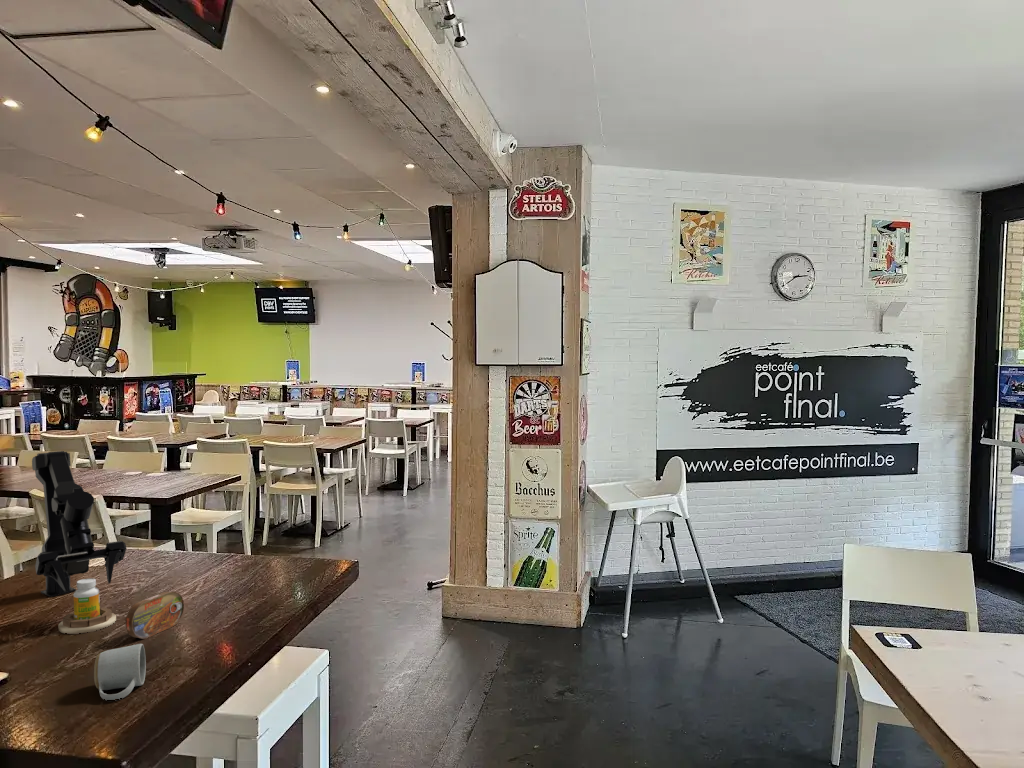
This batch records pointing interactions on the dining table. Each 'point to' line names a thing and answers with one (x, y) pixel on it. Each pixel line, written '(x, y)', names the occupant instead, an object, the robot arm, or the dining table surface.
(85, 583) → the supplement bottle
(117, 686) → the ceramic mug
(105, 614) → the collar stand
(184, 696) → the dining table surface
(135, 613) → the tin
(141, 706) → the dining table surface
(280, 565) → the dining table surface
